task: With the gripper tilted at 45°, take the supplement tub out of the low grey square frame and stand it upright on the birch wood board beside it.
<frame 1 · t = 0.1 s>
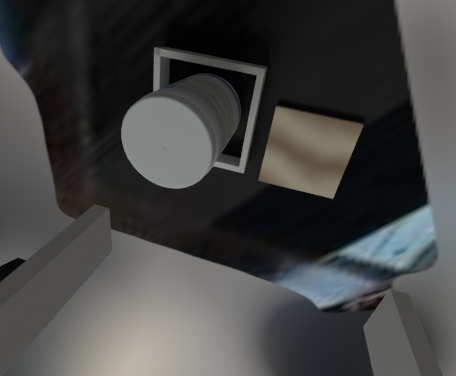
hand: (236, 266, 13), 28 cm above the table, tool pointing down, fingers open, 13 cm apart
supplement tub: (209, 109, 39), resting in grey square frame
grey square frame: (208, 109, 38), on the table
birch board: (306, 153, 38), on the table
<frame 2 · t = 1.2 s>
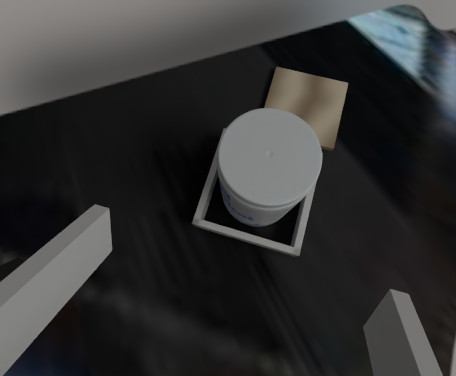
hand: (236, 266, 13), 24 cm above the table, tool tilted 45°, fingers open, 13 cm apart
supplement tub: (257, 193, 38), resting in grey square frame
grey square frame: (257, 193, 38), on the table
birch board: (302, 108, 41), on the table
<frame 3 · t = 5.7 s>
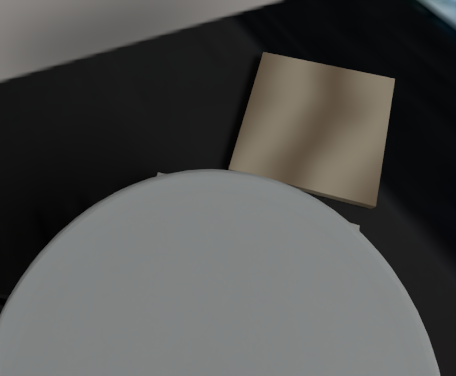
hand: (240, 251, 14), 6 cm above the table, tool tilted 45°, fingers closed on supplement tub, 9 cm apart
supplement tub: (228, 298, 20), resting in grey square frame, touching gripper
birch board: (311, 127, 23), on the table
when the fingers open (8 cm above the table, at t = 12.4 s): supplement tub drops 1 cm, resting on birch board.
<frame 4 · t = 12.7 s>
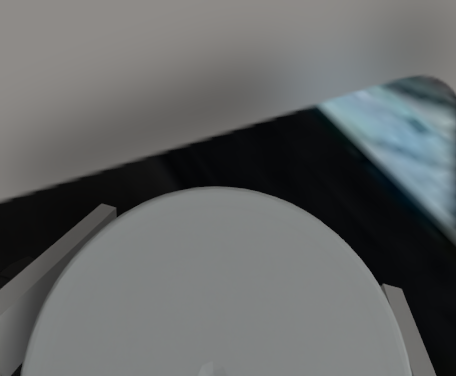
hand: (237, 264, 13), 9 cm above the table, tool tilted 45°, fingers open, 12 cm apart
supplement tub: (230, 298, 21), point 1 cm above the table, touching birch board
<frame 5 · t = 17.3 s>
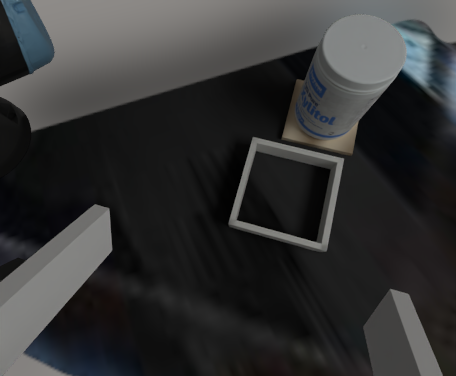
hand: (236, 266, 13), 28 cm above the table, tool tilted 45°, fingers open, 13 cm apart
supplement tub: (323, 116, 45), point 1 cm above the table, touching birch board
grey square frame: (284, 195, 42), on the table
birch board: (322, 117, 45), on the table
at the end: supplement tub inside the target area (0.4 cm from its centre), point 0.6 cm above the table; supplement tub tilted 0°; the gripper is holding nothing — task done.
